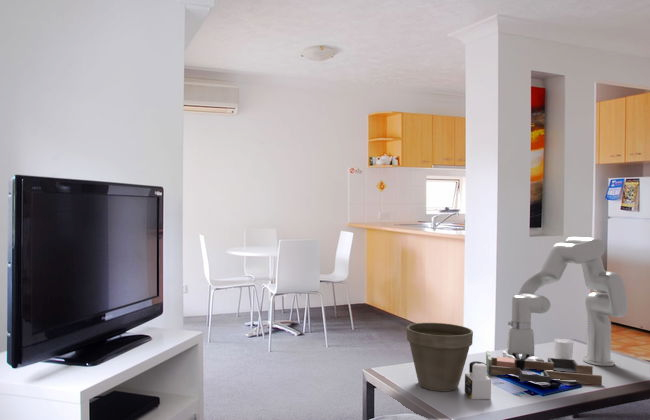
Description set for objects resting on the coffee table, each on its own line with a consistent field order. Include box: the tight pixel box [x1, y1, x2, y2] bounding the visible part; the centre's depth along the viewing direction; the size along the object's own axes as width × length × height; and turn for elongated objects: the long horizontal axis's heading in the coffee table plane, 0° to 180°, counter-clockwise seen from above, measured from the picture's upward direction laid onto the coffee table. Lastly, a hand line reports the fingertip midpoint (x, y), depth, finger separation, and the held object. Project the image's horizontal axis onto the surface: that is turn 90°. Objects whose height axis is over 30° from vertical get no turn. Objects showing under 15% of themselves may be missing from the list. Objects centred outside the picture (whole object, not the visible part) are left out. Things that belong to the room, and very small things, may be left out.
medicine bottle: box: [464, 360, 492, 401], centre depth 184 cm, size 7×7×12 cm
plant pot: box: [406, 322, 474, 392], centre depth 195 cm, size 25×25×22 cm
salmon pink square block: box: [496, 356, 515, 368], centre depth 216 cm, size 7×7×4 cm
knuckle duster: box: [502, 350, 545, 362], centre depth 229 cm, size 3×18×15 cm
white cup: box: [553, 338, 574, 360], centre depth 229 cm, size 8×8×10 cm
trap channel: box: [485, 350, 603, 386], centre depth 211 cm, size 30×42×6 cm
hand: (520, 369), depth 213 cm, fingers closed
